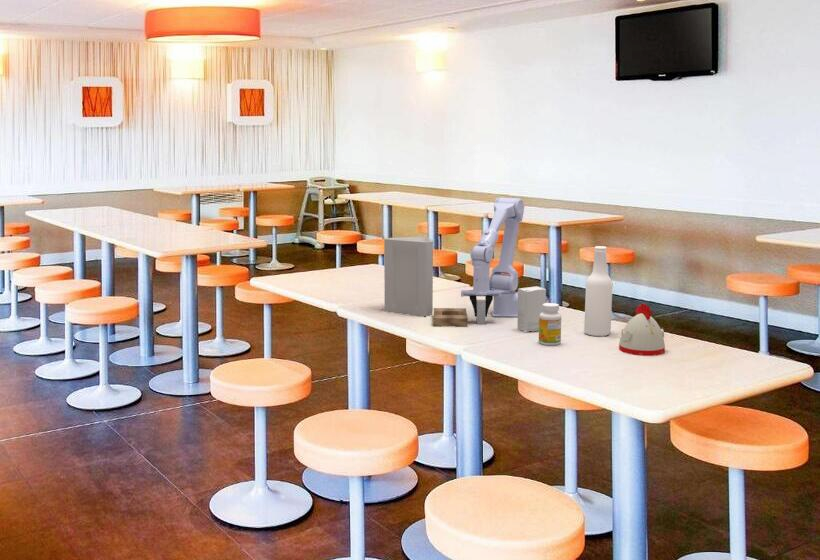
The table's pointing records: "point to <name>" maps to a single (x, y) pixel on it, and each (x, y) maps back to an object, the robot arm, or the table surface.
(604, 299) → the alcohol
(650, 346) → the kitchen timer
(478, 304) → the brushed metal block
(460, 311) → the well block
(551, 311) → the supplement bottle
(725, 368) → the table surface
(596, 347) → the table surface
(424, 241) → the tall grey carton
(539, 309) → the skincare box
